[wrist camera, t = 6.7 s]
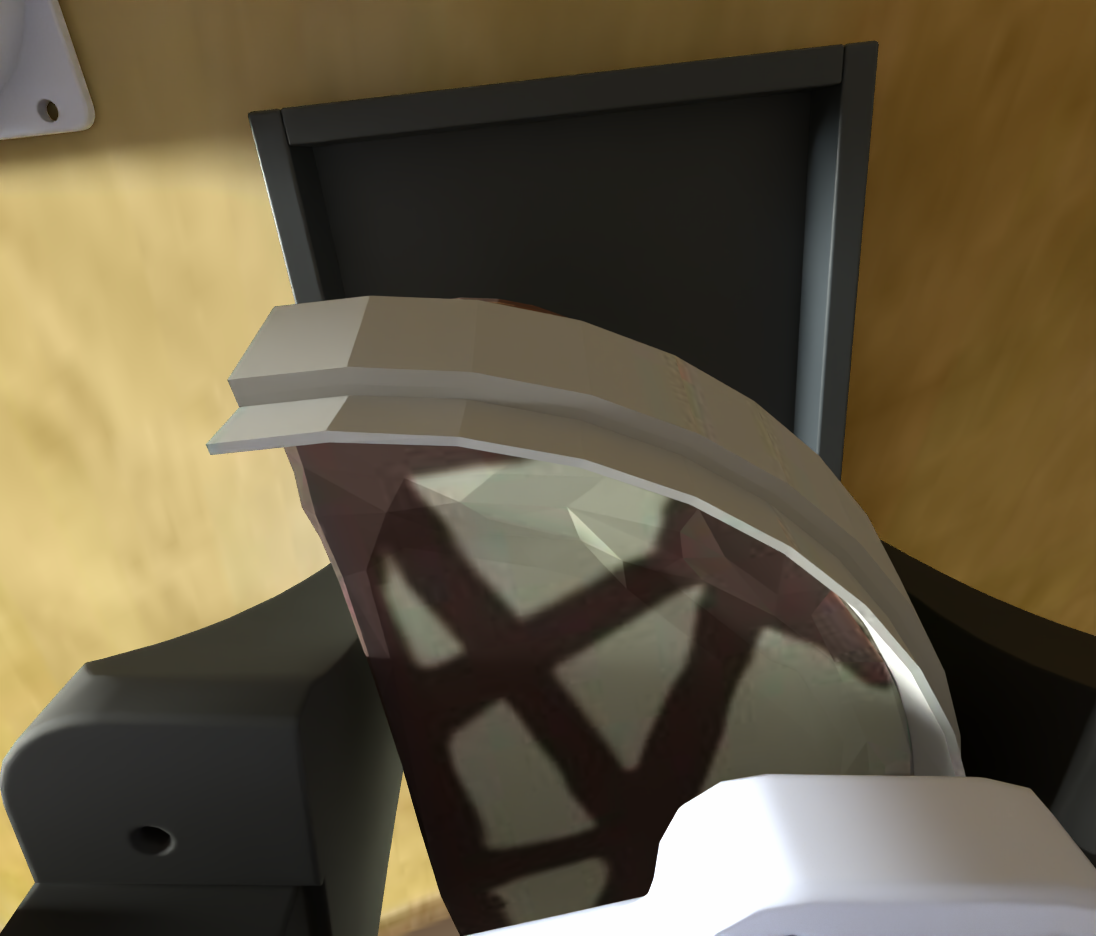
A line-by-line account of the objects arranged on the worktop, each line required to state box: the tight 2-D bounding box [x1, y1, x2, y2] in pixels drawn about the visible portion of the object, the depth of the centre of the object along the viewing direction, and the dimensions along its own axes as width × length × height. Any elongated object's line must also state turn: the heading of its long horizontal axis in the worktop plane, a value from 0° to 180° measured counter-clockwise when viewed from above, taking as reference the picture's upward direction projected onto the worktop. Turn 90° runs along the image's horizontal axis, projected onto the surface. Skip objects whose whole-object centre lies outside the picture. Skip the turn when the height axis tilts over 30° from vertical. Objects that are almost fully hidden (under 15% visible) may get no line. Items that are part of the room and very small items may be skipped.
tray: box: [248, 41, 879, 482], centre depth 20 cm, size 15×18×3 cm
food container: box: [206, 296, 966, 936], centre depth 11 cm, size 12×6×10 cm, turn 10°
